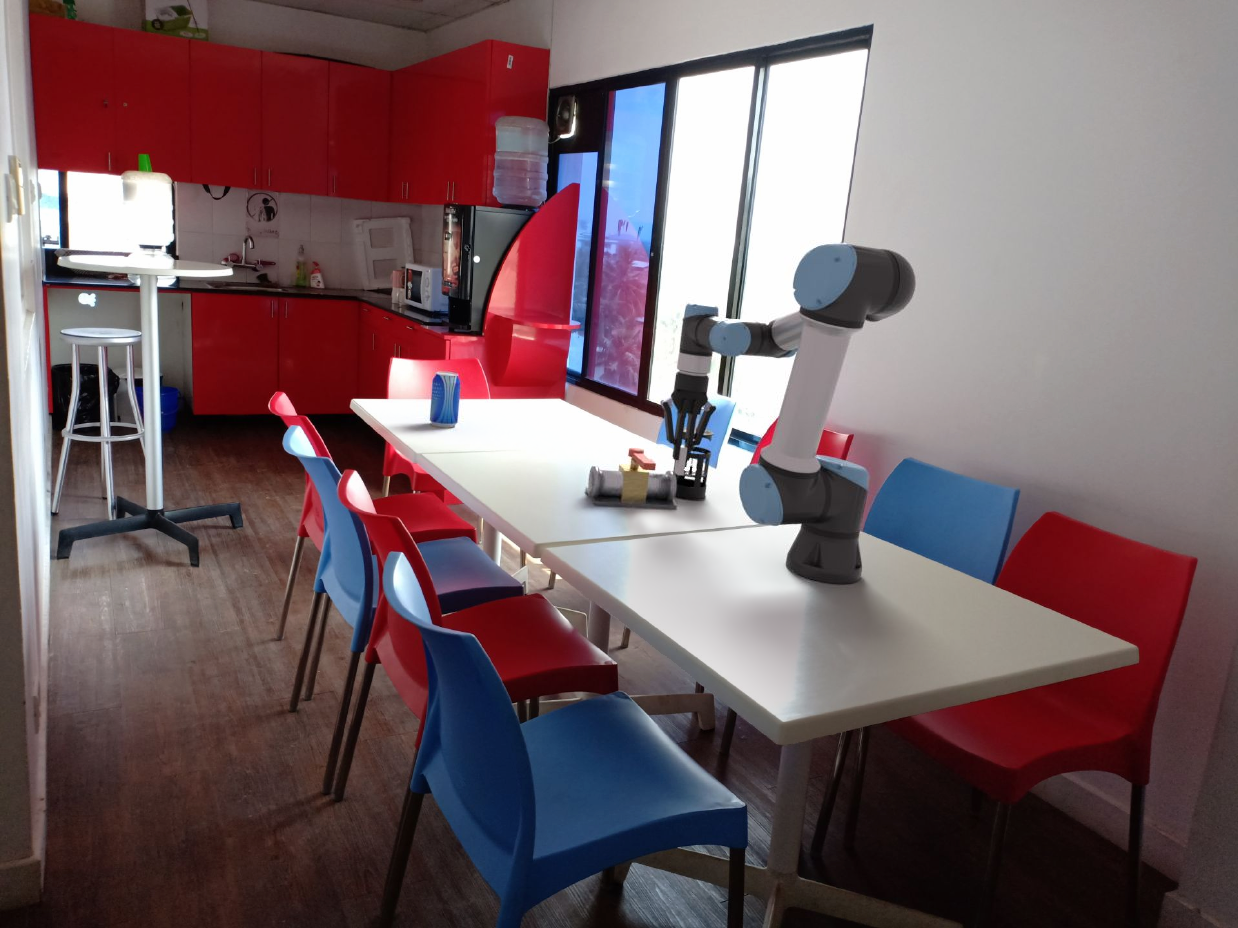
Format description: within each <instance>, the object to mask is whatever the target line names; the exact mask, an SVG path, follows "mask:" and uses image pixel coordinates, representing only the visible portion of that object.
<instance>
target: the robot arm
mask: <svg viewBox="0 0 1238 928" xmlns="http://www.w3.org/2000/svg"><path fill="white" fill-rule="evenodd" d="M795 269H796V270H795V272H794V276H793V282H792V288H793V290H794V291H793V297H794V299H795V301H796V302H797V305H799V308H797V309H795V310H792V311H790V312H788V313H785V314H783V315H781V316H779V317H778V318H775V319H773V320H770V321H759V320H758V321H757V320H747V319H745V320H744V319H736V318H735V319H734V318H726V317H720V316H719V307H718V306H717V305H714V304H707V303H700V302H688V303H687V304H686V306H685V309H684V313H683V314H684V315H683V317H682V326H681V333H680V342H679V352H678V358H677V365H676V369H677V370H678V371H677V372H675V379H674V387H673V391H672V392H671V394H670V397H669V398H667V399H665V400H664V399H661V401H660V406H661V408H662V409H663V416H664V425H665V426H664V427H665V436H666V441H667V442H668V443H669V444H671V445H673V448H672V459H673V460H674V461H675V460H676V463H675V462H674V463H675V470H674V469H673V471H674V472H675V473H676V474H677V475H684V469H685V462H686V461H687V462H688V461H690V460H691V458H690V454H691V453H692V451H691V448H693V446H700V444H701V442H702V440H703V435H704V432H705V430H707V427H708V425H709V422H710V420H711V416H713V414H714V413H715V412H716V410H717V406H715V405H713V403H711V402H710V401H708V400H709V397H708V387H709V381H710V376H709V375H708V374H710V373H711V367H712V360H713V359H712V358H713V353H716V354H718V355H721V356H723V357H739V356H746V357H747V356H749V357H750V356H751V357H752V356H753V357H754V356H755V357H762V358H763V357H764V358H774V359H783V358H786V359H787V358H791V357H792V358H793V356H795V357H794V361H793V363H792V367H791V371H790V375H789V378H788V381H787V385H786V389H785V392H784V397H783V399H782V400H783V401H782V403H781V406H780V407H781V408H780V410H779V414H778V418H777V421H776V424H775V429H774V432H773V434H772V435H773V436H772V439H771V443H770V444H767V446H764V447H762V448H761V449H760V453H759V456H758V460H757V463H751V464H748V465H747V466H746V467H744V469H743V470H742V472H741V474H740V478H739V482H738V491H739V498H740V501H741V506H742V508H743V510H744V512H745V514H746V516H748V518H750V520H751V521H752V522H754V523H756V524H758V525H763V526H764V525H767V526H773V527H776V526H779V525H781V526H782V525H783V526H784V525H786V526H787V525H800V529H799V531H798V534H797V535H796V537H795V539H794V541H793V542H792V544H791V545H790V548H789V549H788V552H787V555H786V560H785V566H786V567H787V569H789V570H790V571H791V572H793V573H795V574H797V575H799V576H801V577H804V578H807V579H810V580H812V581H813V580H814V581H816V582H822V583H828V584H840V585H841V584H845V585H846V584H852V583H856V582H858V581H860V580H861V577H862V572H863V562H862V556H861V548H860V543H859V539H860V532H861V528H862V522H863V517H864V511H865V508H866V502H867V496H868V493H869V490H870V488H869V483H870V482H869V481H870V473H869V470H868V469H866V467H864V466H862V465H860V464H856V463H854V462H850V461H848V460H844V459H840V458H838V457H832V456H827V455H821V454H817V452H818V448H819V445H820V442H821V438H822V435H823V432H824V429H825V425H826V422H827V418H828V415H829V412H830V408H831V405H832V402H833V399H834V394H835V391H836V388H837V384H838V381H839V379H840V374H841V372H842V368H843V364H844V361H845V358H846V355H847V354H846V353H847V351H848V348H849V344H850V341H851V338H852V336H853V335H854V334H855V333H858V332H859V331H862V330H863V328H864V325H865V322H870V323H877V322H880V321H882V320H885V319H888V318H890V317H893V316H895V315H897V314H898V313H900V312H901V311H902V310H904V309H905V308H906V307H908V305H909V304H910V302H911V301H912V299H913V297H914V294H915V291H916V286H917V285H916V275H915V270H914V269H913V266H912V265H911V263H910V262H909V261H908V260H907V259H906V258H905V257H904V256H903V255H901V254H900V253H898V252H896V251H893V250H890V249H884V248H874V247H870V246H863V245H858V244H856V245H855V244H849V243H844V242H823V243H819V244H817V245H815V246H813V247H812V249H809V250H808V251H807V252H806V253H805V254H804V255H803V256H802V258H801V259H800V261H799V263H798V265H797V267H796V268H795ZM673 405H674V407H675V408H676V410H677V411H676V416H677V417H676V424H675V431H674V423H673V413H672V408H673ZM702 407H704V410H701V409H702ZM700 410H701V411H702V414H701V417H700V419H699V420H698V426H697V429H696V432H695V434H694V431H695V428H696V424H697V417H698V415H697V414H698V412H699V411H700ZM686 418H687V420H686ZM686 421H687V422H686ZM685 423H686V427H687V428H686V435H685V440H684V444H683V431H684V427H685ZM684 445H685V446H684Z"/></svg>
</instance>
